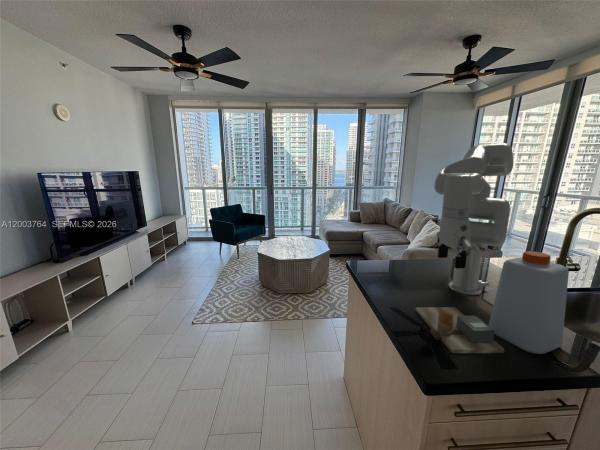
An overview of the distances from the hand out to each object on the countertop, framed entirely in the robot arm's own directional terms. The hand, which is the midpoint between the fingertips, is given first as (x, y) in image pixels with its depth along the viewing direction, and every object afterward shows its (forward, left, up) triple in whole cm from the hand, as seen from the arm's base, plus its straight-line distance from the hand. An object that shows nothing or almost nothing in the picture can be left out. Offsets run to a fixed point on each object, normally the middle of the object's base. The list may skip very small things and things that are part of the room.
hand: (450, 262), depth 84 cm
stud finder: (-4, +9, -21) cm, 23 cm away
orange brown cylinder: (+5, +8, -21) cm, 23 cm away
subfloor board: (-1, +4, -22) cm, 23 cm away
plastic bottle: (-20, +9, -23) cm, 31 cm away
